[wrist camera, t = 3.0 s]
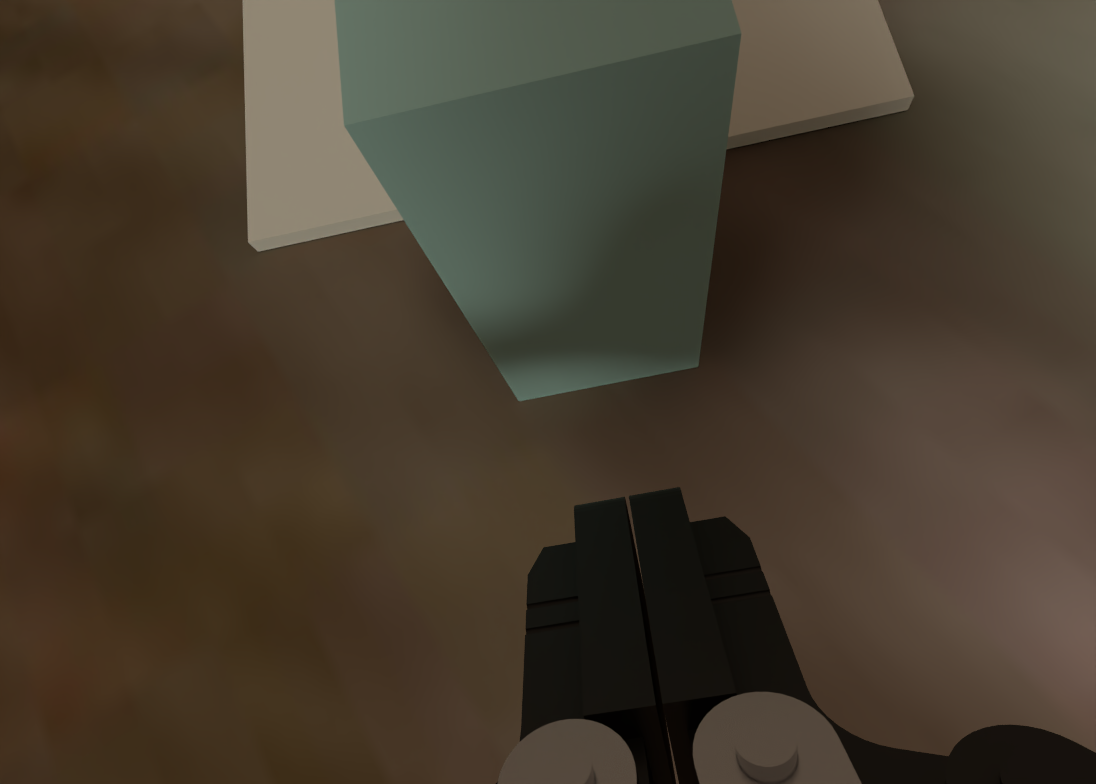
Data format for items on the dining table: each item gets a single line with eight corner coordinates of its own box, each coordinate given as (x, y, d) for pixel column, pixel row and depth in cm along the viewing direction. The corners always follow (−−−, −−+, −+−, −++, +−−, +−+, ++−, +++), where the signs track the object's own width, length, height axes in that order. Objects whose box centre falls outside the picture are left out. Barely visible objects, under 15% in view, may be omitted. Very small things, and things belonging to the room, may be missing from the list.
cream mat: (258, 251, 23) (248, 242, 23) (250, -27, 27) (241, -41, 27) (908, 109, 22) (914, 96, 21) (803, -168, 25) (806, -186, 25)
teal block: (518, 401, 21) (343, 125, 9) (495, 244, 22) (323, -152, 11) (698, 366, 20) (741, 33, 9) (661, 209, 22) (659, -243, 11)
